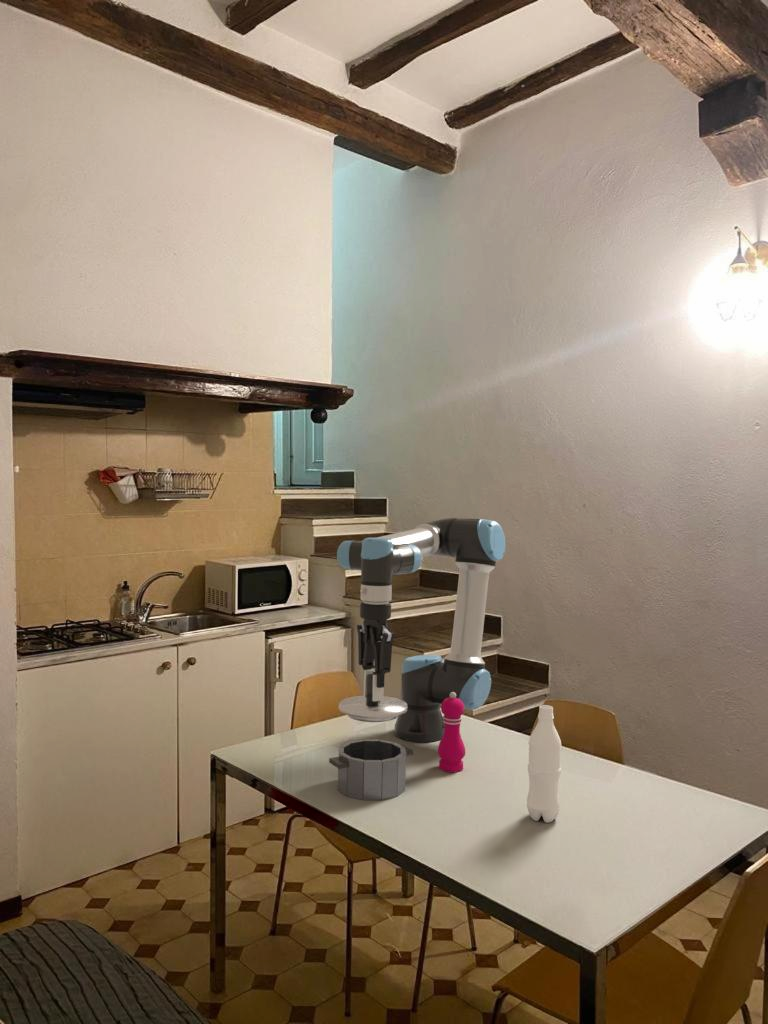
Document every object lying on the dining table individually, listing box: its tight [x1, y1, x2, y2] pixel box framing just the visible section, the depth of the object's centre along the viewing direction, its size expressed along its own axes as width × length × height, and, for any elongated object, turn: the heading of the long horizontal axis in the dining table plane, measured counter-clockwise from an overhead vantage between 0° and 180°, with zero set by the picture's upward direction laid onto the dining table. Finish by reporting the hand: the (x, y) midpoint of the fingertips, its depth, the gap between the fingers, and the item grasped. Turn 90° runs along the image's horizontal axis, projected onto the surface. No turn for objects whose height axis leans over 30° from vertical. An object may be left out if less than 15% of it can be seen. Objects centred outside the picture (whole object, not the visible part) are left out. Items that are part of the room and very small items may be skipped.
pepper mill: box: [437, 692, 466, 773], centre depth 206 cm, size 7×7×20 cm
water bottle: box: [526, 704, 562, 824], centre depth 176 cm, size 7×7×25 cm
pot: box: [328, 739, 415, 801], centre depth 192 cm, size 21×16×9 cm
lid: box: [338, 674, 407, 723], centre depth 192 cm, size 17×17×10 cm
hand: (373, 698), depth 192 cm, fingers closed on lid, 3 cm apart
